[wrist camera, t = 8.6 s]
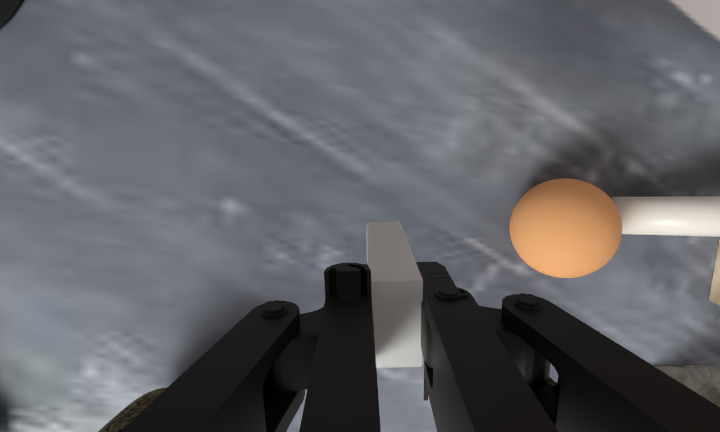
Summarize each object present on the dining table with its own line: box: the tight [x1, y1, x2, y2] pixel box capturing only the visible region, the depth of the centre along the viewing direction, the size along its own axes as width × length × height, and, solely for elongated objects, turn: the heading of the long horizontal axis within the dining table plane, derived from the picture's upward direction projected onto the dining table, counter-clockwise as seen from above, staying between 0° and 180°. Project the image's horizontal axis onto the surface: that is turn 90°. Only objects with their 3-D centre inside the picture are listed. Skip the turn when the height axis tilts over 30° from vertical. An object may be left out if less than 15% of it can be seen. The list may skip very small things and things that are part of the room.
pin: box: [611, 196, 720, 237], centre depth 24 cm, size 2×2×8 cm
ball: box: [510, 178, 622, 278], centre depth 24 cm, size 6×6×6 cm
